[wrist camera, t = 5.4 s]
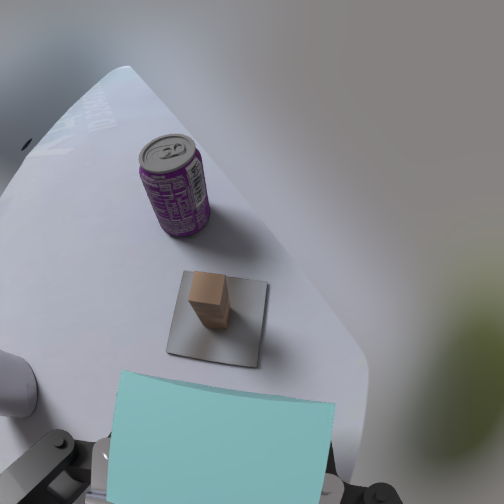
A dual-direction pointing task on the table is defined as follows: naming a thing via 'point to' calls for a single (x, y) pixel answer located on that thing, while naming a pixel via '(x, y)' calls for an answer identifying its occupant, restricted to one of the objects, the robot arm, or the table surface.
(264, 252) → the table surface
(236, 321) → the post
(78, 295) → the table surface
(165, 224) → the beverage can
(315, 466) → the tall teal block
